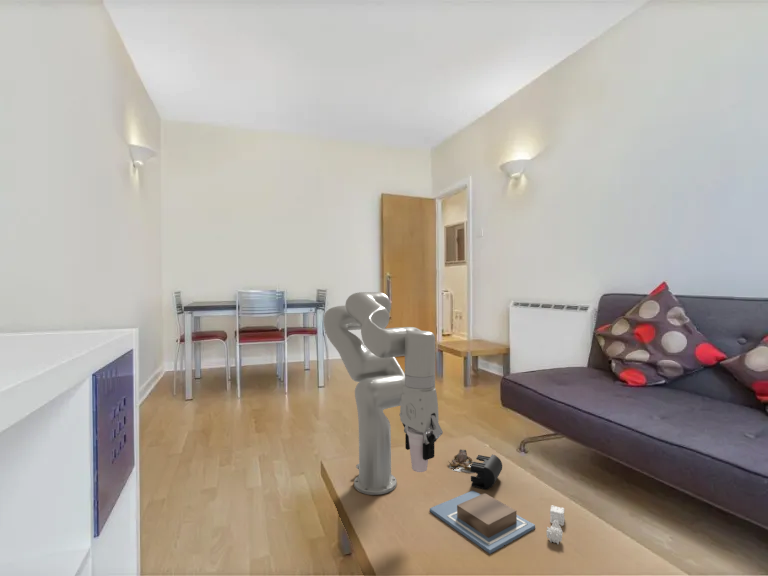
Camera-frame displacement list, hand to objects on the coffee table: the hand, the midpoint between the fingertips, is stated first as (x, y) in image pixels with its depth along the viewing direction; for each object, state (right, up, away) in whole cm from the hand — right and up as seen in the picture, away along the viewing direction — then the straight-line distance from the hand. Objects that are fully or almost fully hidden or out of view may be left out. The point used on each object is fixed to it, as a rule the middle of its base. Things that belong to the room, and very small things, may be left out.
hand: (419, 452), depth 97 cm
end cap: (+22, -17, +20) cm, 34 cm away
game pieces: (+32, -17, -4) cm, 37 cm away
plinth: (+16, -17, -1) cm, 24 cm away
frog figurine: (+17, -18, +32) cm, 40 cm away
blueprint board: (+15, -17, +1) cm, 23 cm away
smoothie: (0, -4, 0) cm, 4 cm away
